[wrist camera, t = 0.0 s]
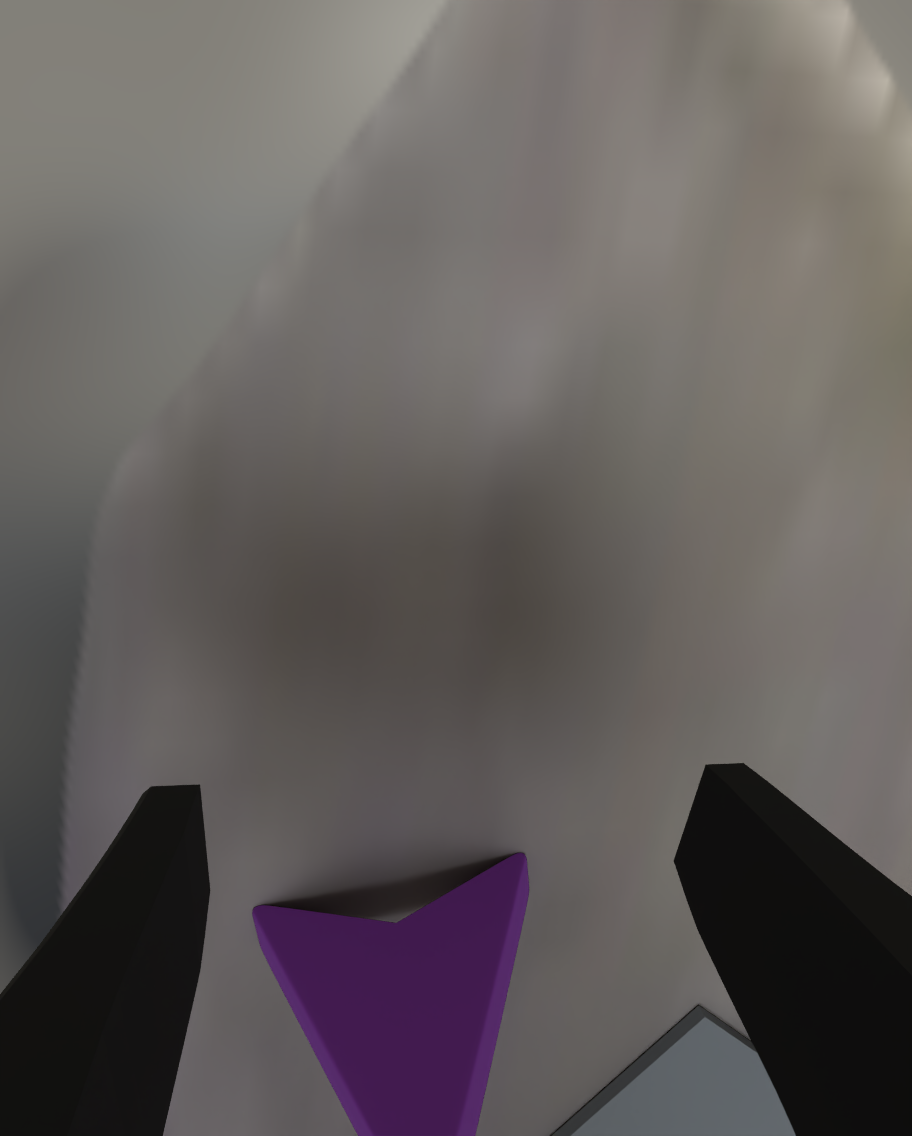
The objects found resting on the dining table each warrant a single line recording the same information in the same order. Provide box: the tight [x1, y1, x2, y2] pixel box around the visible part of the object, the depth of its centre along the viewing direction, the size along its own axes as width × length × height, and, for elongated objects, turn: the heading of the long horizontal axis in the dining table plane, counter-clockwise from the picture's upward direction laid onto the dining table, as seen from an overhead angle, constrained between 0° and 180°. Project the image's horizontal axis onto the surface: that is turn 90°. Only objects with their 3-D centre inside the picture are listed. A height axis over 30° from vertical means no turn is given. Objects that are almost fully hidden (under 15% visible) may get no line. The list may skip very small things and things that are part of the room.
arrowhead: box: [252, 853, 529, 1136], centre depth 21 cm, size 10×2×10 cm
